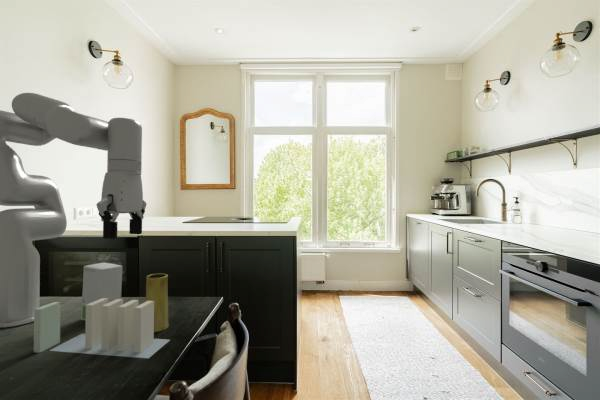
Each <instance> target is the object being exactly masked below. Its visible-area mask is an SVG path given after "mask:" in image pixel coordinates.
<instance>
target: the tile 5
mask: <svg viewBox="0 0 600 400" xmlns="http://www.w3.org/2000/svg"><path fill="white" fill-rule="evenodd" d="M154 334H155V332H154V301H146V300H145V302H143V303H141V304H139V306H137V307H135V308H134V352H137V353H141V352H142V351H143V350H145V349H146V348H147V347H149V346H150V345H151V344H152V343H154V339H155V338H154V337H155V335H154Z"/></svg>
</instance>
